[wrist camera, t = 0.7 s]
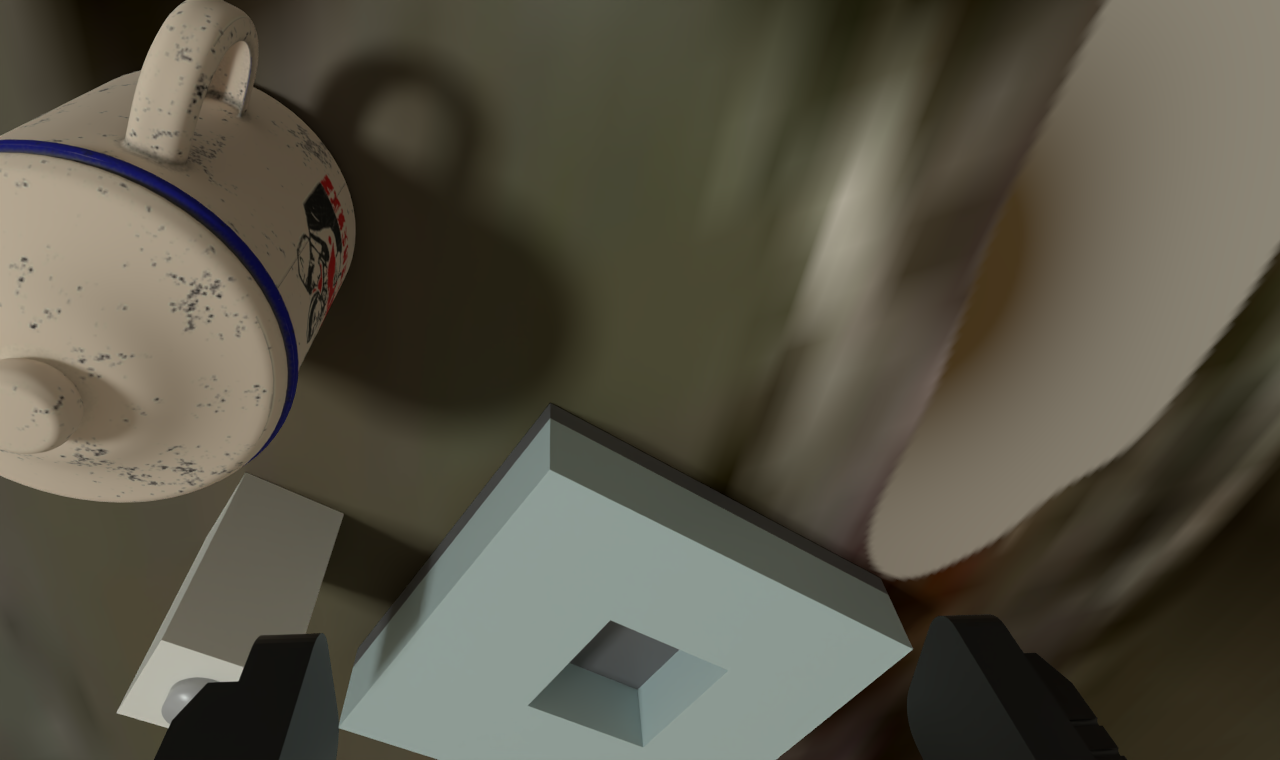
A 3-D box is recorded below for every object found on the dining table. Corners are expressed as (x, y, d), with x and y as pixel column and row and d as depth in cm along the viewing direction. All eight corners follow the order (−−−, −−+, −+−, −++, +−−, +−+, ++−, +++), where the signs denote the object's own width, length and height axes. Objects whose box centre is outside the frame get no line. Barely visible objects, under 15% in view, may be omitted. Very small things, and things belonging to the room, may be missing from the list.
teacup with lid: (318, 370, 29) (199, 628, 19) (34, 268, 26) (-275, 511, 16) (441, 55, 24) (362, 191, 14) (103, -117, 21) (-291, -96, 11)
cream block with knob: (245, 472, 31) (153, 656, 24) (343, 513, 33) (284, 698, 26) (206, 538, 33) (107, 729, 26) (301, 574, 34) (234, 765, 27)
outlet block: (550, 403, 31) (549, 469, 27) (880, 578, 38) (912, 649, 34) (357, 648, 37) (338, 727, 34) (671, 761, 44) (680, 836, 40)
